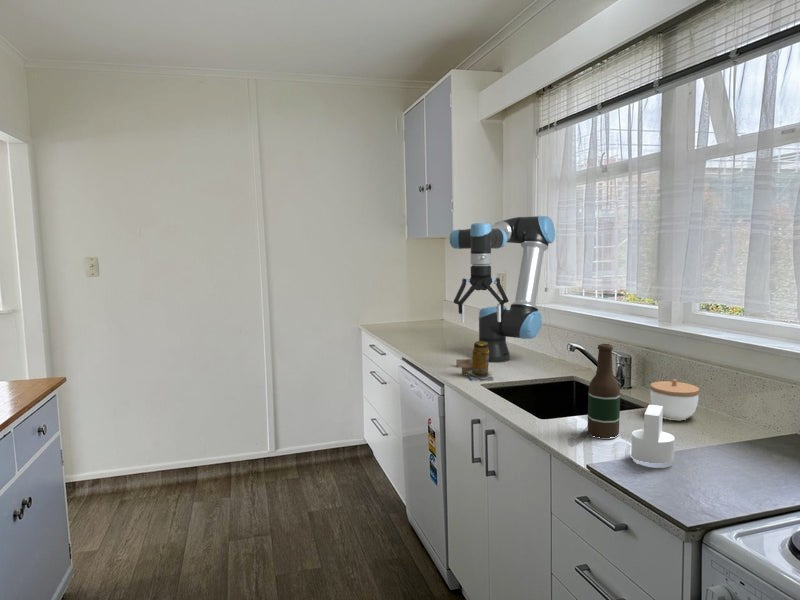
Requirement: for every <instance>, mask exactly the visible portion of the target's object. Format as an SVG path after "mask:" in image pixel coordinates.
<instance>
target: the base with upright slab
mask: <svg viewBox="0 0 800 600" xmlns="http://www.w3.org/2000/svg"><path fill="white" fill-rule="evenodd" d="M643 414H644V417H643V418H644V419H643V423H644V424H643V429H635V430H633V431H632V432H631V449H630V451H631V452H630V453H631V456H632V457H633V458H634V459H636V460H639V461H643V462H649V463H665V462H670V461H673V459H674V460H675V446H676V445H675V444H676V443H675V441H676V439H675V436H674V435H672V434H671V433H668V432H665V431H663V420H664V419H663V406H658V405H652V404H648V406H647V408H646V410H645V412H644V413H643ZM631 456H630V457H631Z"/></svg>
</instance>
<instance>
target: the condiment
mask: <svg viewBox="0 0 800 600" xmlns="http://www.w3.org/2000/svg"><path fill="white" fill-rule="evenodd" d="M473 345H474V347H473V350H472V358H471V359H472V370H470V371H467V372H468V373H470V374H472V375H474V376H477V377H479V378H481V379H486V378H489V377H491V376H492V377H493V376H495V375H497V374H496V373H495V372H493V371H490V370H489V363H490V362H489V350H488V345H489V344H488V343H487V342H484V341H479V340H477V341H475V342H474V344H473Z"/></svg>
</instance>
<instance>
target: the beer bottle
mask: <svg viewBox="0 0 800 600" xmlns="http://www.w3.org/2000/svg"><path fill="white" fill-rule="evenodd" d="M597 349H598V354H597V355H598V356H597V365H596V366H597V367H596V372H595V375H594V376H593V378H592V379H591V380H590V383H589V386H588V395H587V396H588V397H587V398H588V399H587V433H588V435H590V436H591V435H592V436H595V437H600V438H610V437H615V436H617V435H618V434H619V433H620V415H621V414H620V413H621V411H620V410H621V388H620V385H619V382H618V380H617V379H616V378H615V376H614V369H613V350H614V348H613V345H612V344H610V343H600V344H598V345H597ZM592 436H591V437H592ZM618 436H619V435H618ZM618 436H617V437H618ZM595 437H594V438H595Z"/></svg>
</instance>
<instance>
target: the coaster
mask: <svg viewBox="0 0 800 600" xmlns="http://www.w3.org/2000/svg"><path fill="white" fill-rule="evenodd" d="M467 377H468V378H469V377H470V378H469V379H470V381H471V380H490V381H494V377H493V376H491V377H489V378H486V379H481V378H479V377H477V376H474V375H472V374H468V375H467Z"/></svg>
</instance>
